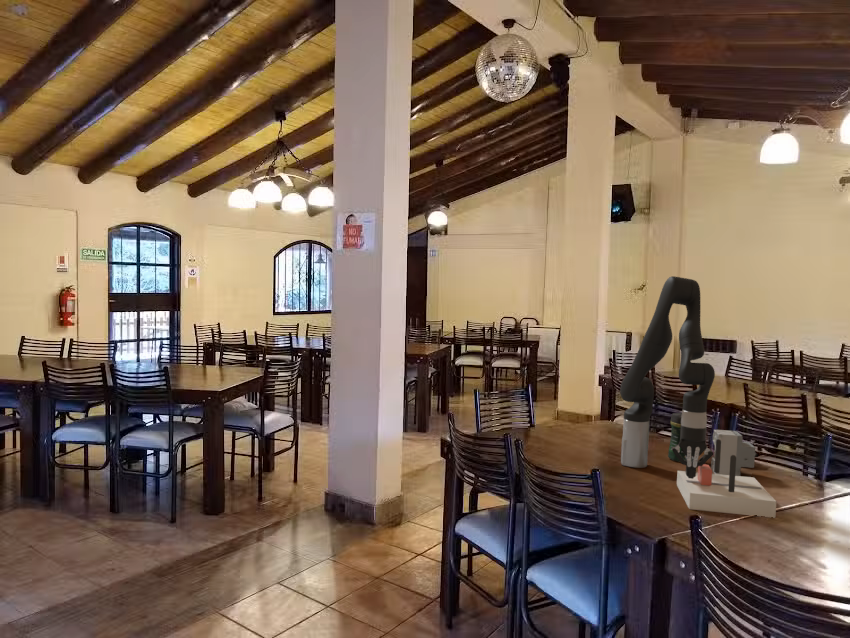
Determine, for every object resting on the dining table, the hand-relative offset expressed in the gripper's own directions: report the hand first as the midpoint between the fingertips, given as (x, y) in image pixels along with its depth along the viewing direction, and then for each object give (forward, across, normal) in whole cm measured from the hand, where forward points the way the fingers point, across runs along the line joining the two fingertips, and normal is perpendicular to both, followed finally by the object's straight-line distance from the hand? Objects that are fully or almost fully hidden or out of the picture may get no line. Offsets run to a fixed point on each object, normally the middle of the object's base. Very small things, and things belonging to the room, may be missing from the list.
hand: (690, 477), depth 205 cm
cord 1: (+1, +10, +10) cm, 14 cm away
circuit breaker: (+7, +21, +33) cm, 40 cm away
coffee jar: (+6, +5, +46) cm, 47 cm away
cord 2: (+1, +10, -10) cm, 14 cm away
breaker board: (+6, +10, 0) cm, 12 cm away
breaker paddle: (+1, +4, 0) cm, 4 cm away
